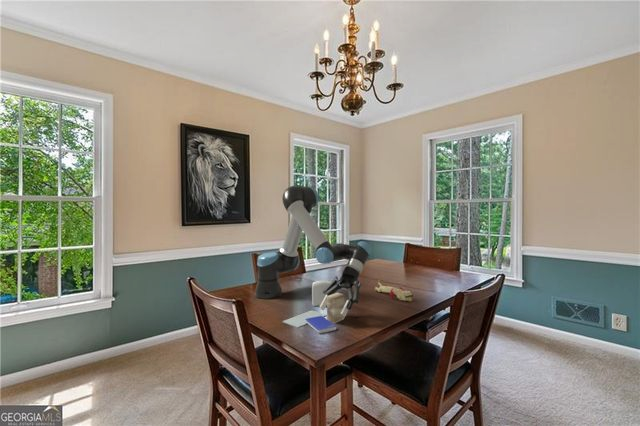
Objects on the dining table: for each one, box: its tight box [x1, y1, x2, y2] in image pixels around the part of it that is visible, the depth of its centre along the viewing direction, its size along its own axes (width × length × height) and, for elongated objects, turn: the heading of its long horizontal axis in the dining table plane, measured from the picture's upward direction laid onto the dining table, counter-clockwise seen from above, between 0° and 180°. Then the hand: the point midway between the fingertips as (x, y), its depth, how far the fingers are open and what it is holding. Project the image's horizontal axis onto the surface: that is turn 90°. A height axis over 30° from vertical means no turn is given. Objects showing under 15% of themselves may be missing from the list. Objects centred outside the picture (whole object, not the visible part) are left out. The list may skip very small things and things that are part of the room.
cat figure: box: [374, 278, 414, 302], centre depth 165 cm, size 10×9×25 cm
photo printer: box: [311, 280, 332, 307], centre depth 152 cm, size 10×4×12 cm, turn 90°
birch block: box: [326, 292, 345, 325], centre depth 132 cm, size 4×7×11 cm, turn 138°
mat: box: [282, 310, 327, 329], centre depth 134 cm, size 10×18×1 cm, turn 138°
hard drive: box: [305, 316, 337, 334], centre depth 125 cm, size 2×8×12 cm
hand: (331, 311), depth 130 cm, fingers open, 11 cm apart
